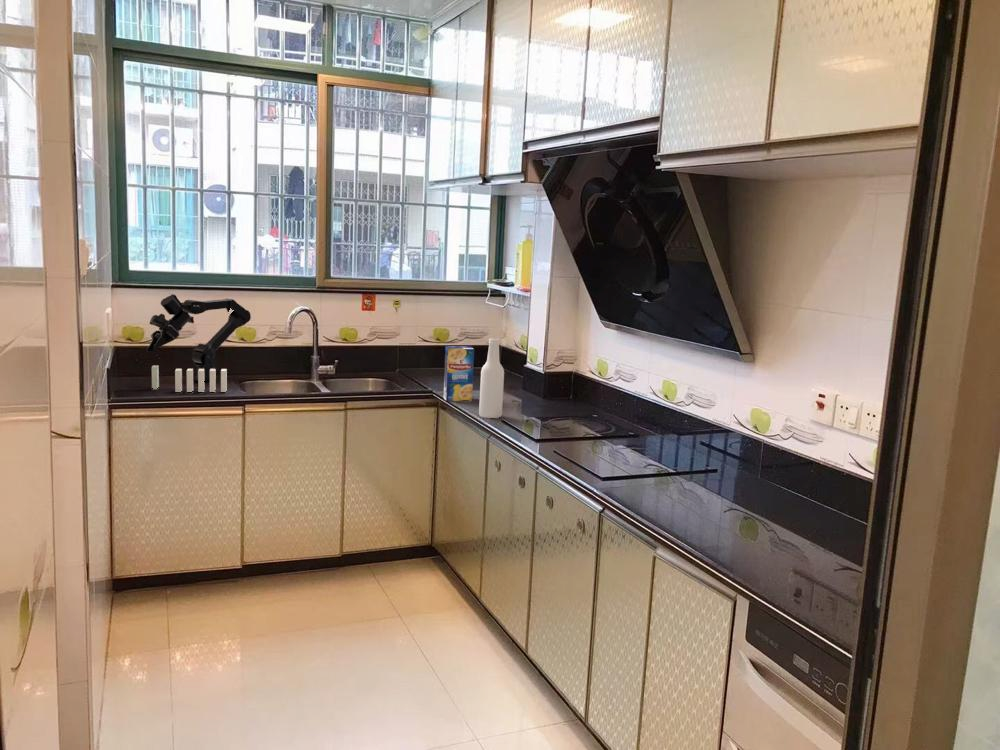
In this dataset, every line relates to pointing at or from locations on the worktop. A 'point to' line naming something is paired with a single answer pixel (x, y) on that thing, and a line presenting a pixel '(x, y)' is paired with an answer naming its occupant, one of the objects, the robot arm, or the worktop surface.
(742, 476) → the worktop surface
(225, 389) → the domino
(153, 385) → the domino
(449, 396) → the blue food box
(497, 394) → the alcohol
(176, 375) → the domino
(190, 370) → the domino
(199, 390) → the domino
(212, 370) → the domino
